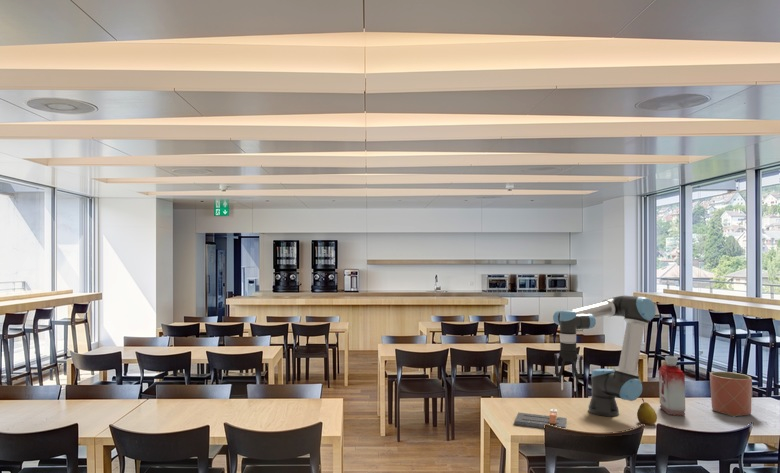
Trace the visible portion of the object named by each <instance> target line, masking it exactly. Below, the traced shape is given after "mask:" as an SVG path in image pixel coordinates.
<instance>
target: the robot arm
mask: <svg viewBox="0 0 780 473" xmlns="http://www.w3.org/2000/svg"><path fill="white" fill-rule="evenodd" d="M614 316H615V317H624V319H623V320H624V321H625V323H626V325H625V330H624V336H623V339H622V340H623V341H622V346H621V352H620V357H619V363H618V367H617V368H616V369H613V368H596V369H593V370H592V371H591V376H590V380H591V398H590V401H589V404H588V412H589V413H591V414H593V415H596V416H603V417H615V416H619V414H620V413H619V412H620V410H619V406H618V404H617V400H616V398H618V399H621V400H623V401H630V402H634V401H636V400H637V399H638V398H640V396H641V395H642V392H643V385H642V384H643V383H642V381H641V380H640V379H639V378H640V375H639V373H637V372H638V367H639V366H638V364H639V359H640V354H641V347H642V344H643V336H644V331H645V327H646V326H647V325H649V322H650V321H651V320H653V319H654V318H655V316H656V305H655V304H654V302H653V300H652V299H650V298H648V297H645V296H637V295H635V296H633V295H618V296H613V297H610V298H606V299H603V300H602V302H597V303H594V304H590V305H585V306H581V307H578V308H573V309H569V310H567V309H566V310H565V309H564V310H556V311H555V312H554V313H553V316H552V319H553V322H554V324H556V325H558V326H559V342H560V343H559V348H560V349H559V353H558V352H557V353H553V354H554V355H553V357H554V374H555V375H556V376H558V382H559V384H560V383H561V384H560V386H561V391H563V390H564V375H563V370H564V367H565V363H567V362H568V363H571V366H572V368H573V372H574V376H573V386H574V388H573V390H574V392H576V391H577V385H579V378H580V377H583V363H582V362H583V358H584V357H583V355H582V354H578V352H577V343H576V342H577V330H590V329H593V328H594V327H595V326H596V323H597V322H596V319H599V318H604V317H608V318H609V317H610V318H611V317H614ZM560 357H561V359H562V361H561V365H560V368H559V358H560ZM576 358H577V359H578V360H579V361H578V364H579V365H578V368H579V372H578V369H577V367H576V366H577V365H576V361H575V360H576Z"/></svg>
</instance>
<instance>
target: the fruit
mask: <svg viewBox="0 0 780 473" xmlns="http://www.w3.org/2000/svg"><path fill="white" fill-rule="evenodd" d="M641 400H642V401H643V402H641V404H640V405H639V407H638V409H637V413H636V418H637V420H638V422H639V423H640V424H642V423H644V424H643V425H648V426H653V425H655V424H656V423H657V421H658V415H657V412H656V410H655V408H653V407H652V405H651V404H649V402H645V399H644V398H643V397H642V398H641Z"/></svg>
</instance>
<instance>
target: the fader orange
mask: <svg viewBox="0 0 780 473" xmlns="http://www.w3.org/2000/svg"><path fill="white" fill-rule="evenodd" d="M548 416H549V423H553V424H556V413H550V412H549V414H548Z"/></svg>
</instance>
